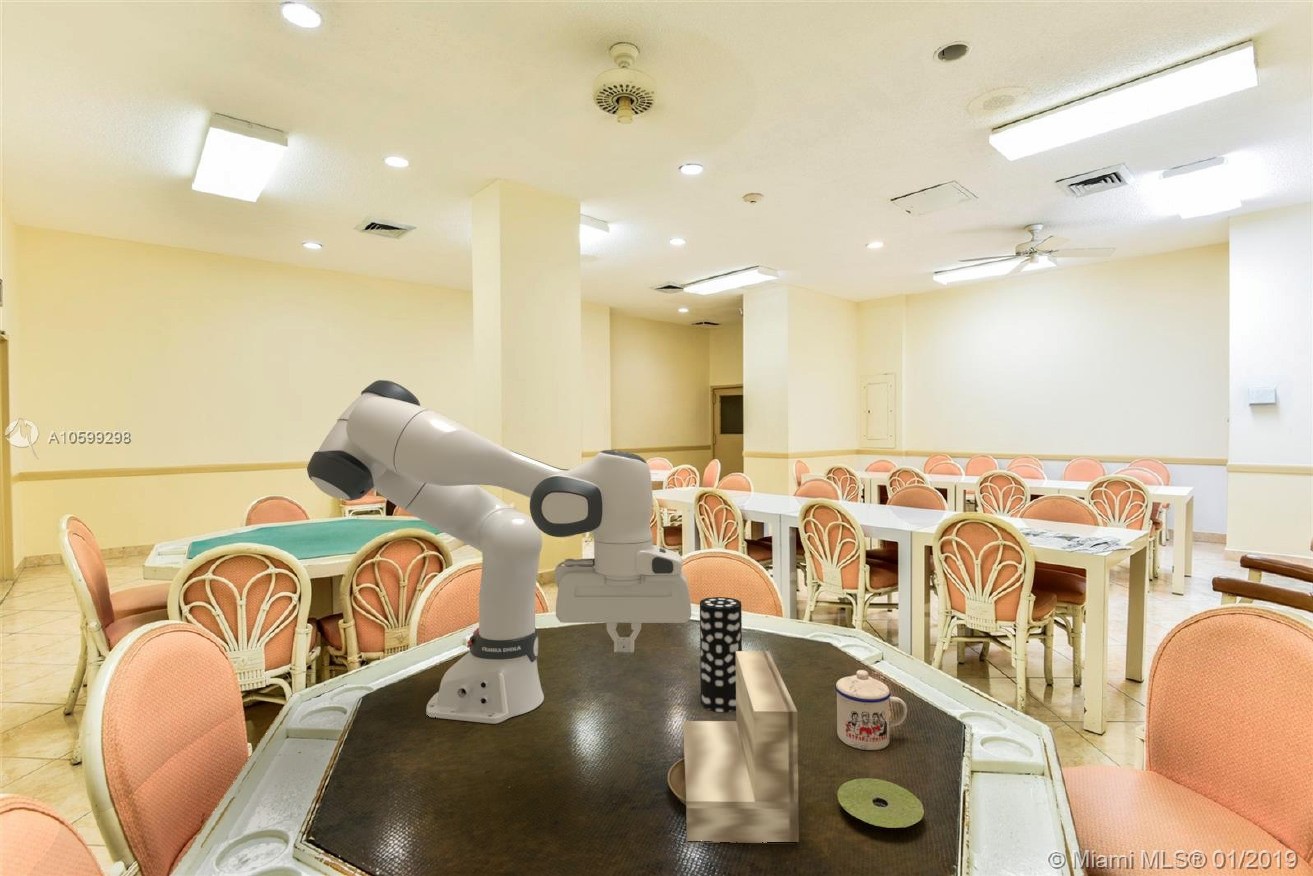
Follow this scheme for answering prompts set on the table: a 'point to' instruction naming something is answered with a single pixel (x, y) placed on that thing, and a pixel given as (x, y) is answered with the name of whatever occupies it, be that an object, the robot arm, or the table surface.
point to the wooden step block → (745, 762)
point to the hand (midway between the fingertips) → (624, 651)
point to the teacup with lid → (865, 711)
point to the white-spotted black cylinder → (719, 651)
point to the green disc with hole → (880, 803)
